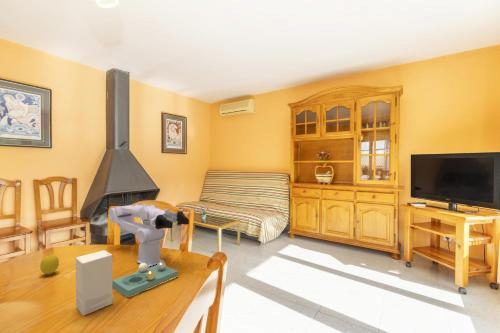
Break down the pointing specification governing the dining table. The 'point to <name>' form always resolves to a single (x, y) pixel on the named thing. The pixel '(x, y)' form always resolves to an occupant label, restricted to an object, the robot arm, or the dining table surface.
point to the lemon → (49, 264)
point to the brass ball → (150, 275)
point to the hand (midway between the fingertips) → (180, 223)
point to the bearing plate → (142, 280)
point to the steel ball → (161, 266)
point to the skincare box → (93, 281)
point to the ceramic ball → (143, 267)
